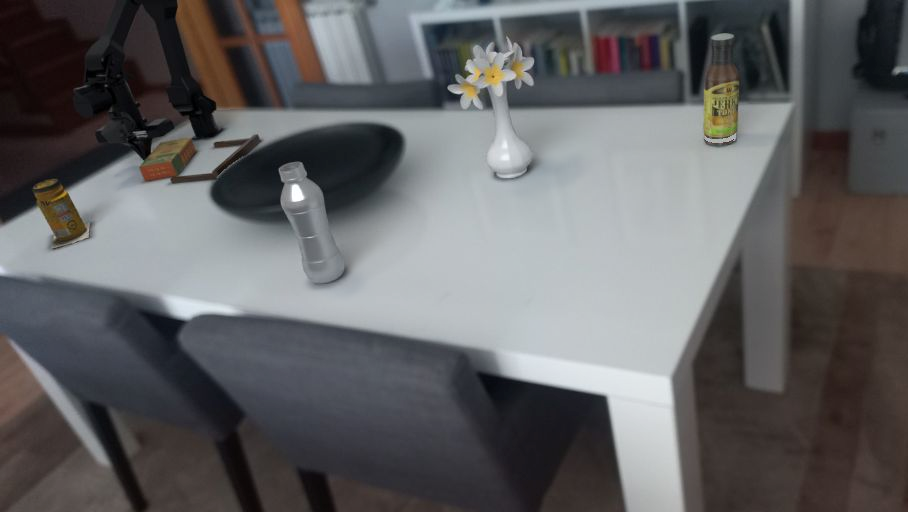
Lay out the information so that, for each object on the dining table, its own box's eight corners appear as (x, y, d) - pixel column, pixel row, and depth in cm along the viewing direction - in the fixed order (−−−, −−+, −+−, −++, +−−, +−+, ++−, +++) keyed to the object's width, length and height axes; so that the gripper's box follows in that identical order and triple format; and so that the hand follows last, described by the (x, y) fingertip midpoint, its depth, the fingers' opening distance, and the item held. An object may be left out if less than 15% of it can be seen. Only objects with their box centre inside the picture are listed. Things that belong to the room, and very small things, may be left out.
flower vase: (461, 193, 140) (433, 64, 126) (503, 153, 153) (481, 33, 140) (522, 197, 134) (500, 62, 121) (560, 155, 147) (543, 29, 134)
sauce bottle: (711, 150, 137) (710, 44, 126) (698, 139, 142) (695, 36, 132) (744, 143, 137) (745, 36, 127) (729, 132, 143) (729, 29, 132)
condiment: (89, 223, 159) (63, 173, 152) (89, 238, 152) (61, 186, 146) (54, 235, 157) (26, 184, 150) (51, 250, 150) (22, 198, 144)
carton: (197, 151, 189) (191, 136, 187) (178, 176, 175) (170, 160, 173) (166, 157, 189) (159, 141, 187) (144, 182, 176) (137, 165, 173)
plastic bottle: (311, 271, 123) (272, 162, 113) (350, 264, 123) (315, 154, 113) (305, 291, 118) (264, 179, 107) (346, 284, 118) (309, 170, 107)
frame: (217, 146, 190) (214, 138, 189) (260, 141, 187) (258, 134, 186) (171, 183, 172) (168, 175, 171) (219, 178, 169) (216, 171, 168)
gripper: (67, 118, 170) (97, 179, 178) (136, 111, 166) (163, 173, 174) (96, 102, 179) (123, 160, 187) (162, 94, 175) (187, 154, 183)
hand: (148, 162), depth 183 cm, fingers closed
